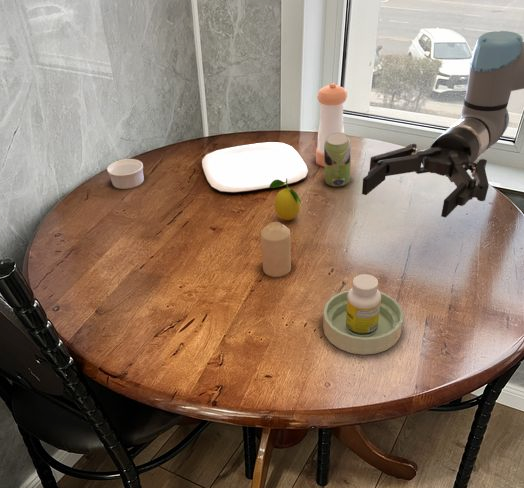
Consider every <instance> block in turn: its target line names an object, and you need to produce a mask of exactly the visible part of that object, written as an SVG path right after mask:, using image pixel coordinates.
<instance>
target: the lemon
mask: <svg viewBox="0 0 524 488" xmlns="http://www.w3.org/2000/svg"><path fill="white" fill-rule="evenodd" d="M284 183H286V185H284ZM283 185H284V186H285V188H283V189H281V190H279V192H278V193H277V194H276V197H275V199H274V210H275V213H276V215H277V216H278V217H279V218H280V219H282V220H284V221H291V220H294V219H295V218H297V216H298V215H299V212H300V210H301V206H302V201H301V198H300V196H299V194H298V193H297V192H296V191H295V190H294V189H292V188H290V187H289V184H288V185H287V178H286V182H282V181H281V180H274V181H273V182H272V183H271V184H270V187H269V188H268V189H275V188H280V187H283Z"/></svg>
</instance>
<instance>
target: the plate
mask: <svg viewBox="0 0 524 488" xmlns="http://www.w3.org/2000/svg"><path fill="white" fill-rule="evenodd" d="M201 167H202V170H203V173H204V176H205V178H206V181H207V182H208V184H209V185H210V188H212V189H214V190H216V191H218V192H220V193H231V194H238V193H246V192H247V193H248V192H254V191H261V190H267V189H270V188H269V187H270V184H271V183H272V182H273V181H274V180H281V181H282V182H286V178H287V185H288V186H289V185H292V184H295V183H298V182H300V181H302V180H304V179H306V177H307V175H308V173H309V169H308V167H307V163H306V162H305V161H304V160H303V158H302V157H301V155H300V154H299V152H298V151H297V150H296V149H295V148H294V147H293V146H291V145H289V144H286V143H284V142H275V141H274V142H273V141H269V142H258V143H251V144H243V145H237V146H232V147H225V148H221V149H217V150H214V151H211V152H209V153H207V154H205V156H204V157H203V158H202V159H201ZM283 186H286V183H284V185H283ZM283 186H282V187H283Z"/></svg>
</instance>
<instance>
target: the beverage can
mask: <svg viewBox="0 0 524 488" xmlns="http://www.w3.org/2000/svg"><path fill="white" fill-rule="evenodd" d="M351 151H352V143H351V140H350V139H349V136H348V135H347V134H346V133H345V132H344V133H333V134H330V135H329V136H328V137H327V140H326V141H325V143H324V162H325V167H324V182H325V183H326V185H328V186H330V187H333V188H334V187H335V188H336V187H338V188H339V187H343V186H346V185H347V184H348V183H349V182H350V180H351V157H352V155H351Z"/></svg>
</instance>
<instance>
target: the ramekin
mask: <svg viewBox="0 0 524 488" xmlns="http://www.w3.org/2000/svg"><path fill="white" fill-rule="evenodd" d="M106 171H107V174H108V176H109V178H110V181H111V184H112V186H113V187H114V188H116V189H120V190H126V189H127V190H128V189H132V188H136V187H139V186H140V185H142V184H143V183H144V181H145V177H144V175H145V174H144V163H143V162H142V161H141V160H139V159H135V158H122V159H119V160H116V161H114V162H112V163H110V164H109V165H108V166H107V168H106Z"/></svg>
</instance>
